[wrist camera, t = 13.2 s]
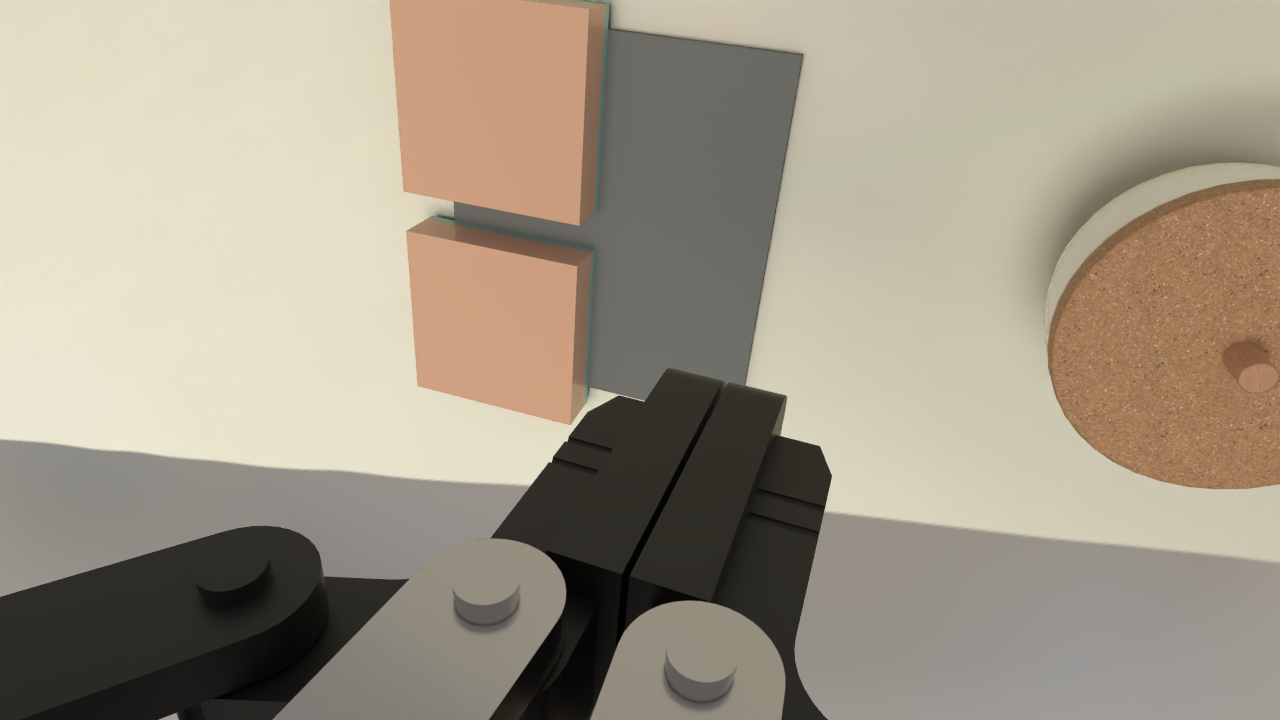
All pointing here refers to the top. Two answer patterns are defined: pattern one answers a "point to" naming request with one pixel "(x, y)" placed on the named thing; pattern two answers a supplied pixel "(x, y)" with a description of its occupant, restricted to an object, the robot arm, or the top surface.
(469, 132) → the tile
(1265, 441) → the lidded jar
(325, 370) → the top surface
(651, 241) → the mat
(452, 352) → the tile
